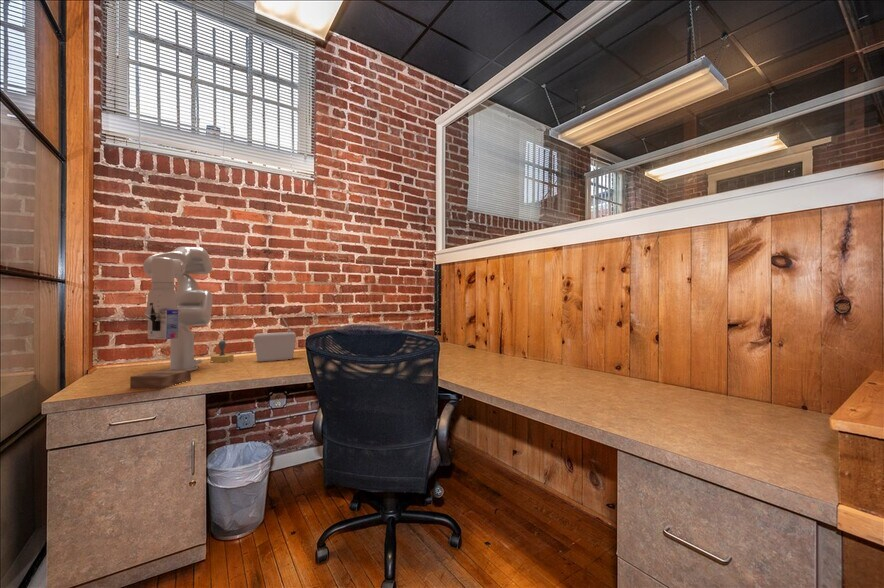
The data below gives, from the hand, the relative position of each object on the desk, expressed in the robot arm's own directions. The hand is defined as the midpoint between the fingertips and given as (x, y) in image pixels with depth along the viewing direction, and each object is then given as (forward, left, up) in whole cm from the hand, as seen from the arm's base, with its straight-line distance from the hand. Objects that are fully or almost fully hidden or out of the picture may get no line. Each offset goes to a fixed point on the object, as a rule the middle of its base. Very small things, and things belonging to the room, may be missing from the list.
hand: (163, 329), depth 148 cm
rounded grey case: (-58, +11, -23) cm, 63 cm away
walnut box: (0, 0, -23) cm, 23 cm away
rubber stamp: (-49, -16, -23) cm, 56 cm away
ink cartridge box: (0, 0, -4) cm, 4 cm away
